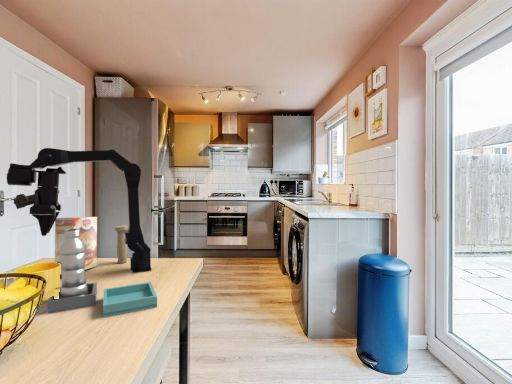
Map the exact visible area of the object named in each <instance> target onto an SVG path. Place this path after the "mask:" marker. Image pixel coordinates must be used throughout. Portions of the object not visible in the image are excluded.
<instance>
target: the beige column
mask: <svg viewBox="0 0 512 384" xmlns="http://www.w3.org/2000/svg"><path fill="white" fill-rule="evenodd" d="M128 227H129V224H128V225H127V224H122V225H121V224H120V225H115V226H114V231H116V233H117V237H116V256H117V263H118V264H125V263H127V262H128V259H127V257H128V246H127V244H125V242H124V240H125V234H124V231H128Z"/></svg>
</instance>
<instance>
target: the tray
mask: <svg viewBox="0 0 512 384" xmlns="http://www.w3.org/2000/svg"><path fill="white" fill-rule="evenodd" d="M102 295H103V297H102V300H103V301H102V314H103V315H102V317H103V318H105V317H111V316H116V315H121V314H127V313H132V312H138V311H143V310H147V309H153V308H157V307H158V296H157V293H156V291H155V289H154V287H153V284H152V282H151V281H148V282H142V283H135V284H128V285H121V286H116V287H110V288H109V287H108V288H103V294H102Z"/></svg>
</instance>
